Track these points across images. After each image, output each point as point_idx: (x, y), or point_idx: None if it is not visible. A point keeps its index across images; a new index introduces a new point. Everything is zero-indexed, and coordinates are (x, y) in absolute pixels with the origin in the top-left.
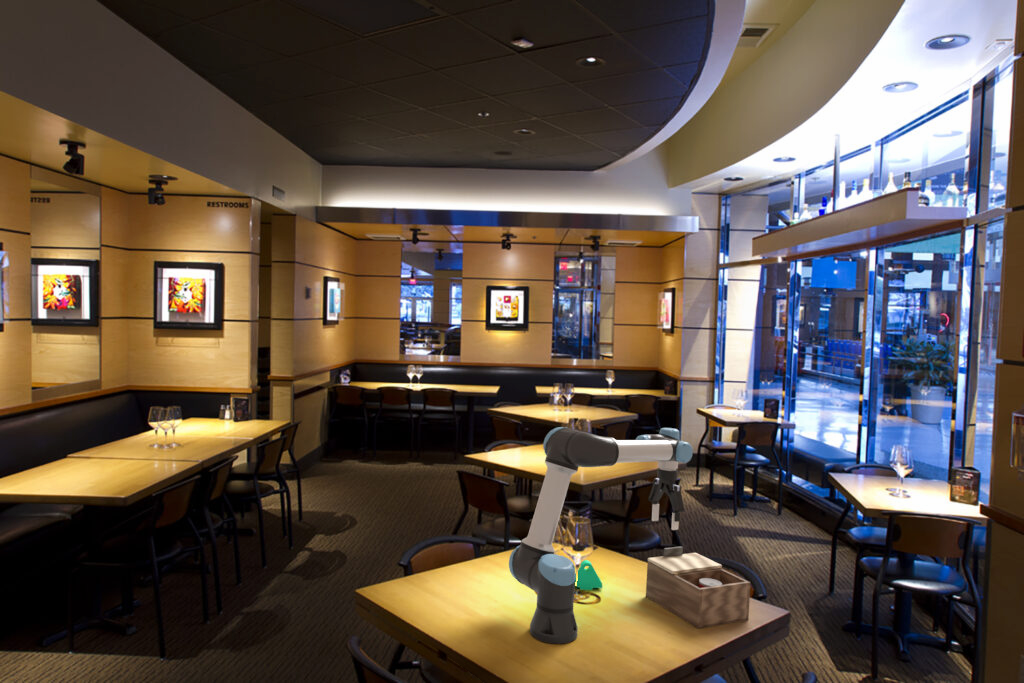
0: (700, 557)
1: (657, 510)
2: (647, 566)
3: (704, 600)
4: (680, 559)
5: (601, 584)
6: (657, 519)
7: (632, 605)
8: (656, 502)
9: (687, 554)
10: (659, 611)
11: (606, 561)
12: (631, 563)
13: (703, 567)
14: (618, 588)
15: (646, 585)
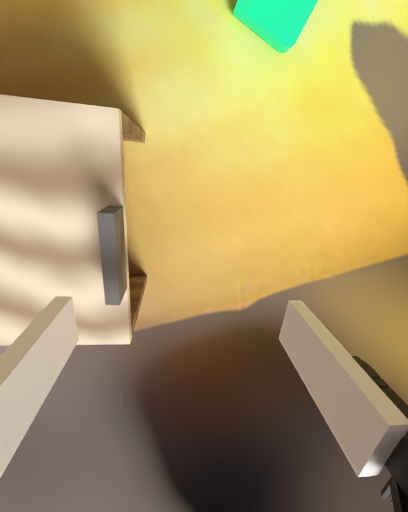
0: (77, 329)
1: (322, 394)
2: (126, 116)
3: None
4: (68, 247)
5: (236, 3)
6: (284, 338)
7: (95, 30)
8: (403, 484)
9: (118, 309)
10: (35, 87)
11: (376, 206)
12: (330, 256)
13: None
14: (222, 93)
15: (139, 128)
